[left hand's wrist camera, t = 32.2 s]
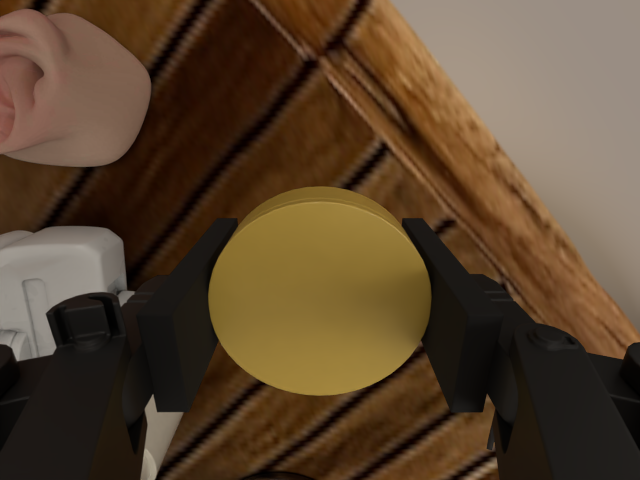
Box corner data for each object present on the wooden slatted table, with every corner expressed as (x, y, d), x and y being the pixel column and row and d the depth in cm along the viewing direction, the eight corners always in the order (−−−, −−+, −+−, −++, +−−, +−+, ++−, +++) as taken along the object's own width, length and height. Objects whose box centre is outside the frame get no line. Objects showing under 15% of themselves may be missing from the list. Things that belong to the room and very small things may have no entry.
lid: (187, 229, 11) (165, 252, 10) (381, 153, 10) (393, 163, 9) (272, 379, 13) (265, 418, 12) (438, 325, 12) (456, 360, 11)
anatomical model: (129, 26, 23) (120, 200, 27) (156, 37, 26) (144, 188, 30) (-100, -36, 21) (-74, 156, 25) (-38, -16, 25) (-24, 149, 29)
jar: (205, 283, 34) (105, 444, 18) (232, 328, 36) (164, 511, 20) (155, 303, 34) (16, 474, 19) (184, 346, 36) (81, 536, 20)
